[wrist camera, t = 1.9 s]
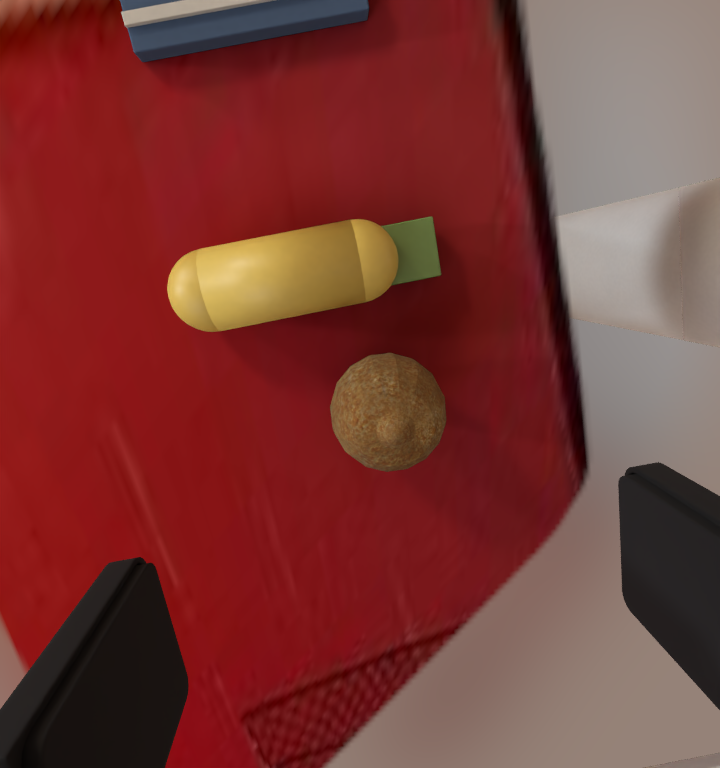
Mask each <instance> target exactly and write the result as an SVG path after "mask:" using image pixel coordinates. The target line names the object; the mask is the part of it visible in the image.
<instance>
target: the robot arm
mask: <svg viewBox="0 0 720 768" xmlns="http://www.w3.org/2000/svg"><path fill="white" fill-rule="evenodd" d="M618 486H619V511H620V540H621V569H622V592H623V596H624V600H625V603H626V605H627V607H628V608H629V610H630V611H631V613H632V614H633V615H634V616H635V617H636V618H637V619H638V620H639V621H640V623H641V624H642V625H643V626H644V627H645V628H646V629H647V630H648V631H649V633H650V634H651V635H652V636H653V637H654V638H655V639H656V640H657V641H658V642H659V644H660V645H661V646H662V647H663V648H664V649H665V650H666V651H667V652H668V654H669V655H670V656H671V657H672V658H673V659H674V660H675V661H676V662H677V663H678V665H679V666H680V667H681V668H682V669H683V670H684V671H685V672H686V673H687V674H688V676H689V677H690V678H691V679H692V680H693V681H694V682H695V683H696V684H697V686H698V687H699V688H700V689H701V690H702V691H703V692H704V693H705V694H706V695H707V697H708V698H709V699H710V700H711V701H712V702H713V703H714V704H715V706H716V707H717V708H718V709H719V710H720V496H718V495H717V494H715V493H713V492H711V491H710V490H708V489H706V488H704V487H703V486H701V485H699V484H697V483H695V482H694V481H692V480H690V479H688V478H687V477H685V476H683V475H681V474H680V473H678V472H676V471H674V470H673V469H671V468H669V467H667V466H666V465H664V464H661V463H659V462H658V463H652V464H647V465H641V466H636V467H630V468H628V469H627V470H626V473H625V476H622V477H621V478H620V480H619V485H618ZM187 695H188V676H187V672H186V669H185V666H184V662H183V659H182V655H181V652H180V649H179V645H178V642H177V638H176V635H175V632H174V628H173V625H172V621H171V618H170V615H169V611H168V608H167V604H166V601H165V598H164V594H163V591H162V587H161V584H160V581H159V577H158V574H157V570H156V568H155V566H154V565H153V564H152V563H147V564H146V562H145V561H144V559H143V558H141V557H138V558H133V559H127V560H122V561H116V562H111V563H109V564H108V565H106V567H105V568H104V569H103V571H102V572H101V573H100V575H99V576H98V577H97V579H96V580H95V582H94V583H93V584H92V586H91V587H90V588H89V590H88V591H87V592H86V594H85V595H84V596H83V598H82V599H81V601H80V602H79V603H78V605H77V606H76V607H75V609H74V610H73V611H72V613H71V614H70V615H69V617H68V618H67V620H66V621H65V622H64V624H63V625H62V626H61V628H60V629H59V630H58V632H57V633H56V634H55V636H54V637H53V639H52V640H51V641H50V643H49V644H48V645H47V647H46V648H45V649H44V651H43V652H42V653H41V655H40V656H39V658H38V659H37V660H36V662H35V663H34V664H33V666H32V667H31V668H30V670H29V671H28V672H27V674H26V675H25V677H24V678H23V679H22V681H21V682H20V684H19V685H18V686H17V687H16V689H15V690H14V691H13V693H12V694H11V696H10V697H9V698H8V700H7V701H6V702H5V704H4V705H3V707H2V708H1V709H0V768H165V765H166V762H167V759H168V756H169V752H170V749H171V746H172V743H173V740H174V737H175V734H176V731H177V727H178V724H179V721H180V718H181V715H182V712H183V709H184V705H185V702H186V699H187ZM645 768H720V753H716V754H711V755H706V756H701V757H696V758H691V759H686V760H681V761H675V762H670V763H666V764H660V765H656V766H651V767H645Z"/></svg>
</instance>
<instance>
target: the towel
mask: <svg viewBox="0 0 720 768" xmlns="http://www.w3.org/2000/svg"><path fill="white" fill-rule="evenodd" d="M120 2H121V6H122V9H123V12H121V13H122V17H123V20H124V24H125V26H126V27H127V28H128V32H129V36H130V39H131V43H132V47H133V51H134V53H135V54H136V55H137V56H138V57H139V59H140V60H141V61H142V62H147V61H153V60H158V59H163V58H169V57H174V56H179V55H185V54H190V53H195V52H201V51H206V50H211V49H217V48H222V47H227V46H233V45H238V44H243V43H249V42H254V41H259V40H265V39H270V38H275V37H281V36H286V35H291V34H297V33H302V32H307V31H313V30H318V29H323V28H329V27H334V26H339V25H345V24H350V23H355V22H361V21H366V20H367V19H368V12H369V4H368V0H120Z"/></svg>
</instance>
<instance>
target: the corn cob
mask: <svg viewBox="0 0 720 768" xmlns="http://www.w3.org/2000/svg"><path fill="white" fill-rule="evenodd" d="M440 275H441V269H440V262H439V256H438V249H437V242H436V235H435V229H434V222H433V217H426V218H421V219H416V220H411V221H406V222H401V223H396V224H390V225H385V226H379V225H378V224H376V223H374V222H371V221H368V220H362V219H353V220H346V221H340V222H335V223H330V224H325V225H320V226H315V227H310V228H305V229H299V230H294V231H289V232H284V233H279V234H274V235H269V236H264V237H259V238H253V239H248V240H243V241H238V242H233V243H228V244H223V245H218V246H213V247H207V248H202V249H199V250H195V251H192V252H190V253H188V254H186V255H184V256H183V257H182V258H181V259H180V260H179V261H178V262H177V263H176V264H175V266H174V267H173V269H172V271H171V273H170V276H169V279H168V287H167V289H168V296H169V300H170V303H171V305H172V308H173V309H174V311H175V312H176V314H177V315H178V316H179V317H180V318H181V319H182V320H183V321H184V322H185V323H187V324H188V325H190V326H192V327H194V328H196V329H199V330H202V331H209V332H215V331H224V330H229V329H234V328H239V327H244V326H249V325H254V324H259V323H264V322H269V321H274V320H279V319H284V318H289V317H294V316H299V315H304V314H309V313H315V312H320V311H325V310H330V309H335V308H340V307H345V306H350V305H355V304H360V303H365V302H368V301H371V300H374V299H376V298H377V297H379V296H381V295H382V294H383V293H385V292H386V291H387V290H388V288H389V287H390V286H391V285H396V284H401V283H406V282H411V281H416V280H421V279H426V278H431V277H436V276H440Z"/></svg>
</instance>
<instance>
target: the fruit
mask: <svg viewBox="0 0 720 768" xmlns="http://www.w3.org/2000/svg"><path fill="white" fill-rule="evenodd" d="M330 410H331V418H332V425H333V430H334V433H335V435H336V437H337V438H338V440H339V442H340V443H341V445H342V447H343V448H344V450H345V452H347V453H348V454H349V455H351V456H352V457H353V458H355V459H356V460H357V461H359V462H360V463H362V464H363V465H364V466H366V467H369V468H373V469H377V470H381V471H386V472H388V471H395V470H403V469H408V468H410V467H412V466H413V465H415V464H417V463H419V462H421V461H423V460H424V459H426V458H427V457H428V455H429V454H430V453H431V452H432V451H433V450H434V448H435V447H436V446H437V445H438V444H439V442H440V439H441V436H442V433H443V430H444V427H445V424H446V409H445V397H444V395H443V393H442V392H441V390H440V388H439V386H438V384H437V382H436V380H435V378H434V376H433V375H432V373H430V372H429V371H428V370H427V369H425V368H424V367H423V366H422V365H420V364H419V363H418V362H417V361H415V360H414V359H411V358H408V357H404V356H401V355H397V354H393V353H385V354H377V355H369V356H367V357H366V358H364V359H362V360H360V361H359V362H357V363H355V364H353V365H351V366H350V367H349V368H348V370H347V371H346V372H345V373H344V375H343V376H342V377H341V378H340V380H339V381H338V382H337V385H336V388H335V391H334V395H333V398H332V402H331V406H330Z"/></svg>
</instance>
